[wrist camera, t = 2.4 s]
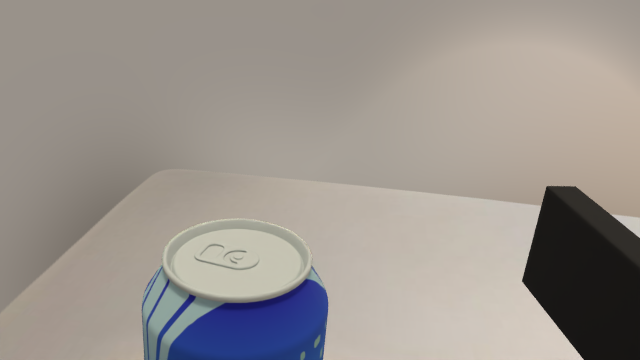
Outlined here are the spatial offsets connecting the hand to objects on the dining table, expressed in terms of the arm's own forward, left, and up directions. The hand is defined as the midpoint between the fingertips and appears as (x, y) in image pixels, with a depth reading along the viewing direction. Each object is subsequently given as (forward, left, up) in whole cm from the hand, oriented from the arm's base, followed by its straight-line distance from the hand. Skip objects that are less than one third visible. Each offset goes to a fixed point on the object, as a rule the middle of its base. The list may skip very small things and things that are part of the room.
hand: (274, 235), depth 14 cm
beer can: (0, +11, -23) cm, 26 cm away
